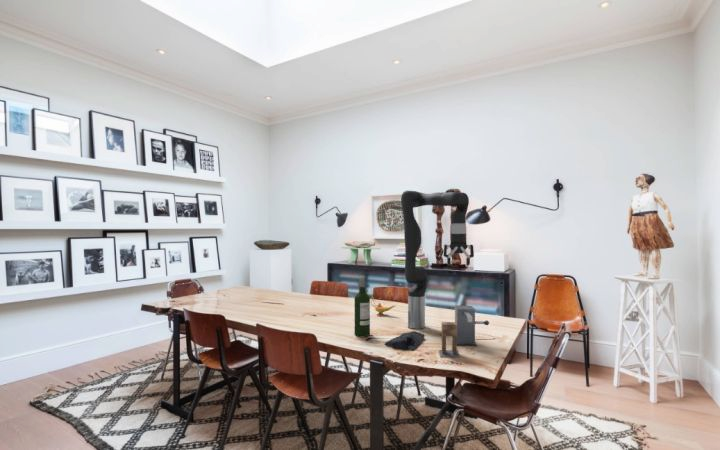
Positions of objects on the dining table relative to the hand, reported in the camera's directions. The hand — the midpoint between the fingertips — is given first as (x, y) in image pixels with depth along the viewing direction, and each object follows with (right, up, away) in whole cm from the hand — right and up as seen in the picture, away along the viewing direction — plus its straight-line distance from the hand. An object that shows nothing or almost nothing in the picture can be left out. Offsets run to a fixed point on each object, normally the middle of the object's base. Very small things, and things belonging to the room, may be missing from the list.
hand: (458, 265), depth 181 cm
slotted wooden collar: (-10, -36, -21) cm, 42 cm away
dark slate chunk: (-26, -37, -5) cm, 45 cm away
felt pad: (-10, -36, -21) cm, 43 cm away
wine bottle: (-47, -36, +8) cm, 60 cm away
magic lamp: (-34, -36, +49) cm, 70 cm away
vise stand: (+4, -36, -12) cm, 38 cm away
